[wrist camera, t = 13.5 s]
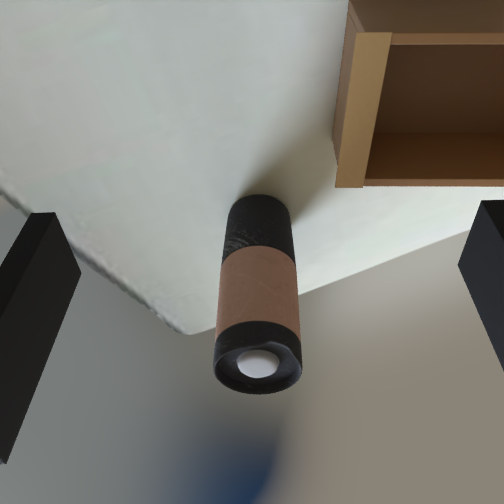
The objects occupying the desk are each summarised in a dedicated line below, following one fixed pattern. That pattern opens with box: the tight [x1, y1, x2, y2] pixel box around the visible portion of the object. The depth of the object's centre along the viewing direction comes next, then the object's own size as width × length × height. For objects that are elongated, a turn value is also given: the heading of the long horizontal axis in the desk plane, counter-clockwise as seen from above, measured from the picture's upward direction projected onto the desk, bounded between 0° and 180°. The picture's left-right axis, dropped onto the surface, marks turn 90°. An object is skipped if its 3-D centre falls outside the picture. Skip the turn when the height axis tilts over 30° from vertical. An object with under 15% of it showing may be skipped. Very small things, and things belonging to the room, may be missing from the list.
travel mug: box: [213, 195, 302, 394], centre depth 45 cm, size 8×8×20 cm
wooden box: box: [332, 0, 504, 188], centre depth 38 cm, size 13×23×8 cm, turn 91°
